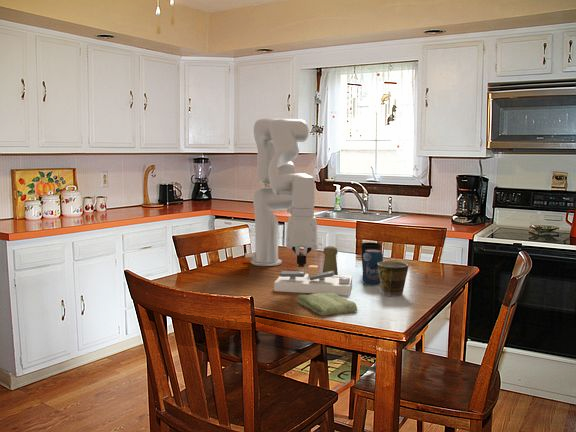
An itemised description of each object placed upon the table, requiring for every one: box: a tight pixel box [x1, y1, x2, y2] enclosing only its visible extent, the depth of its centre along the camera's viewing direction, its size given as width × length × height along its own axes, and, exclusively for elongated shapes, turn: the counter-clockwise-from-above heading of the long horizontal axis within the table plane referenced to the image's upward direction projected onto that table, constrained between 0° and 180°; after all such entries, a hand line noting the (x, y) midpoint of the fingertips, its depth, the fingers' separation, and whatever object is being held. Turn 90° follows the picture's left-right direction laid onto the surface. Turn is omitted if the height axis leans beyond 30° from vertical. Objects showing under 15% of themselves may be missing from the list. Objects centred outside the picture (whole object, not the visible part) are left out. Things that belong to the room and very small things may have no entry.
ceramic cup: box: [378, 260, 409, 297], centre depth 180 cm, size 13×10×10 cm
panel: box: [273, 273, 353, 296], centre depth 189 cm, size 25×15×4 cm, turn 80°
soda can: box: [362, 249, 384, 287], centre depth 195 cm, size 7×7×12 cm
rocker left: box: [279, 270, 306, 277], centre depth 186 cm, size 8×4×1 cm, turn 80°
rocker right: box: [310, 271, 334, 280], centre depth 184 cm, size 8×4×1 cm, turn 80°
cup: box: [360, 242, 382, 269], centre depth 208 cm, size 8×8×12 cm
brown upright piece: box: [321, 245, 339, 275], centre depth 207 cm, size 6×6×11 cm
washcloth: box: [297, 293, 358, 317], centre depth 166 cm, size 13×18×3 cm
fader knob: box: [307, 264, 319, 275], centre depth 193 cm, size 3×3×3 cm
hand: (301, 266), depth 186 cm, fingers closed
